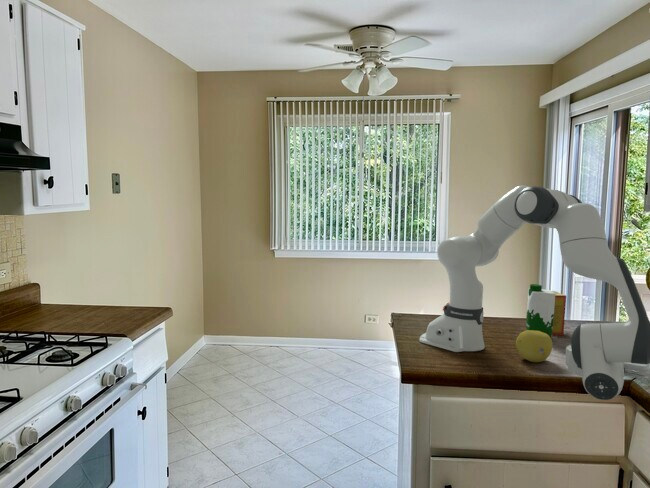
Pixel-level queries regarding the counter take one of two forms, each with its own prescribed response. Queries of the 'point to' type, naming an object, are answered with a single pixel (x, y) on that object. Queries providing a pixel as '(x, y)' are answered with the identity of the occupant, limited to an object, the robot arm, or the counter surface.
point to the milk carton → (540, 309)
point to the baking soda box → (559, 314)
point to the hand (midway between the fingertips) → (607, 353)
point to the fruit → (534, 345)
